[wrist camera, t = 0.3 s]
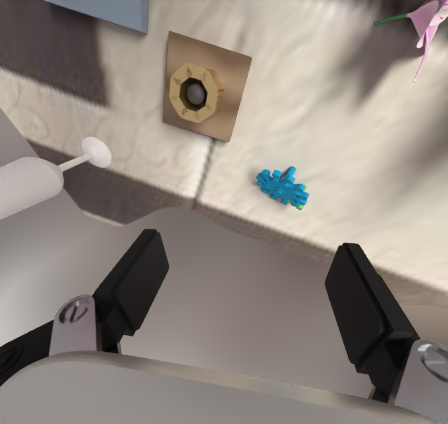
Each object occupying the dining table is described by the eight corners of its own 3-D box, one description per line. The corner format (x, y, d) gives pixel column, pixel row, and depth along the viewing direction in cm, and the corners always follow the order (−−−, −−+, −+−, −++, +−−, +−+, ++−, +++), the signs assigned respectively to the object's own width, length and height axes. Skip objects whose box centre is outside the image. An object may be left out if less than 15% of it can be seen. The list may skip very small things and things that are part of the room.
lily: (370, 99, 30) (452, 98, 22) (328, 46, 24) (419, 18, 16) (428, 10, 26) (550, -29, 19) (396, -77, 21) (554, -189, 13)
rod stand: (174, 33, 28) (155, 23, 23) (252, 58, 28) (250, 54, 24) (167, 119, 35) (152, 126, 30) (230, 139, 35) (225, 148, 30)
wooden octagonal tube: (184, 60, 28) (172, 57, 24) (228, 74, 28) (222, 73, 24) (179, 109, 32) (167, 113, 28) (217, 121, 32) (211, 127, 28)
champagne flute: (76, 150, 42) (-87, 211, 22) (89, 129, 39) (-88, 179, 19) (103, 173, 44) (-24, 247, 24) (117, 155, 41) (-15, 224, 21)
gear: (244, 178, 37) (282, 173, 29) (260, 154, 39) (300, 143, 30) (278, 210, 42) (319, 214, 33) (291, 188, 43) (334, 187, 34)
